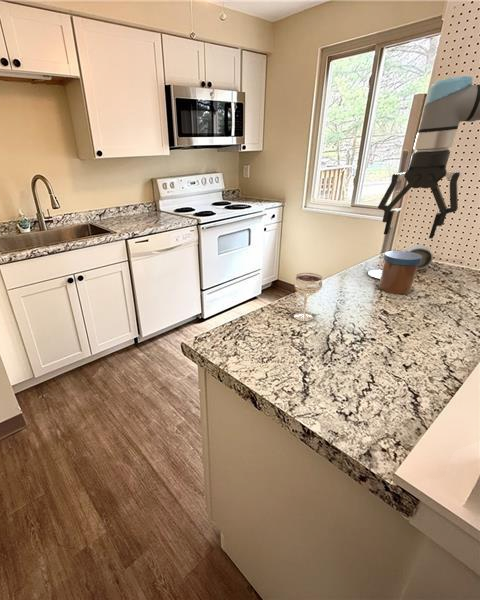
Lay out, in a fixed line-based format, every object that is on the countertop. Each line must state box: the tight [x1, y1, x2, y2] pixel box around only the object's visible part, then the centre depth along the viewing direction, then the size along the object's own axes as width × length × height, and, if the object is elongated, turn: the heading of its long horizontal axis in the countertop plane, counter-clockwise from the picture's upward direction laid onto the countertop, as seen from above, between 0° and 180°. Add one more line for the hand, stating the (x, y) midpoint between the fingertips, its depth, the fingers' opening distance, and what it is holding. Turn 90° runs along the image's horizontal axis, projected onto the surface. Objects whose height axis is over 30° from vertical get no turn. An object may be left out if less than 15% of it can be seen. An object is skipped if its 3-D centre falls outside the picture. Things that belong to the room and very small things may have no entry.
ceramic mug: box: [405, 244, 434, 271], centre depth 110 cm, size 11×8×8 cm
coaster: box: [367, 269, 383, 281], centre depth 106 cm, size 10×10×1 cm
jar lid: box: [383, 250, 422, 266], centre depth 92 cm, size 9×9×2 cm
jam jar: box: [377, 261, 418, 295], centre depth 94 cm, size 8×8×10 cm
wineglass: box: [293, 272, 324, 322], centre depth 84 cm, size 7×7×12 cm
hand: (407, 235), depth 90 cm, fingers open, 10 cm apart
